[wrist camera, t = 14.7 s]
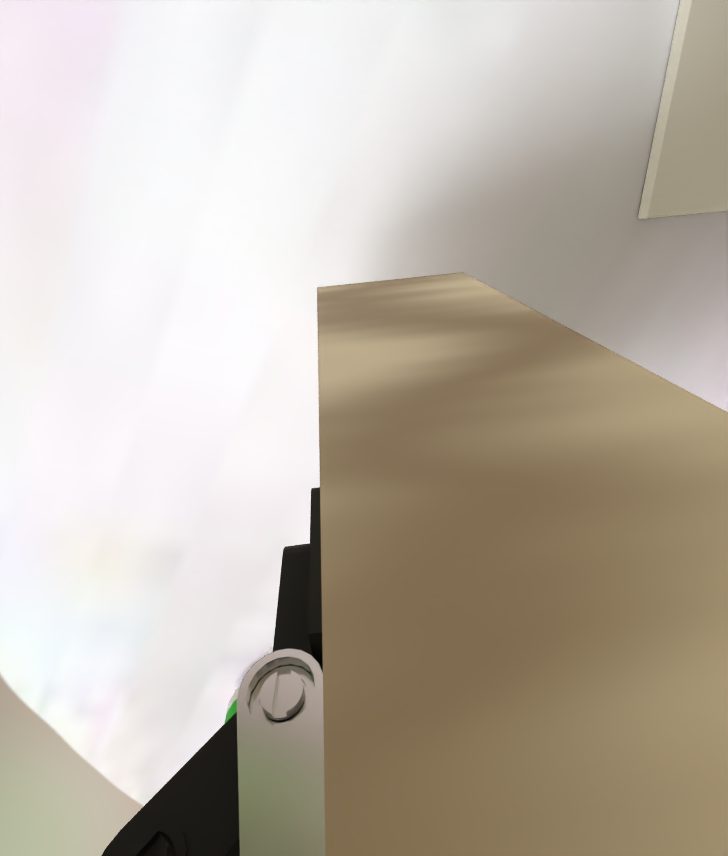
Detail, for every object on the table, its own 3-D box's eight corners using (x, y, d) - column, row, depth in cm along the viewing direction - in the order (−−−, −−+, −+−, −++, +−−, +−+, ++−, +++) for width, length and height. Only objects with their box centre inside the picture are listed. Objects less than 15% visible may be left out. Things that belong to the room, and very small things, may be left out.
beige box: (462, 272, 12) (1885, 1024, 1) (454, 541, 16) (695, 1147, 6) (317, 287, 11) (335, 1374, 1) (352, 555, 16) (417, 1205, 6)
